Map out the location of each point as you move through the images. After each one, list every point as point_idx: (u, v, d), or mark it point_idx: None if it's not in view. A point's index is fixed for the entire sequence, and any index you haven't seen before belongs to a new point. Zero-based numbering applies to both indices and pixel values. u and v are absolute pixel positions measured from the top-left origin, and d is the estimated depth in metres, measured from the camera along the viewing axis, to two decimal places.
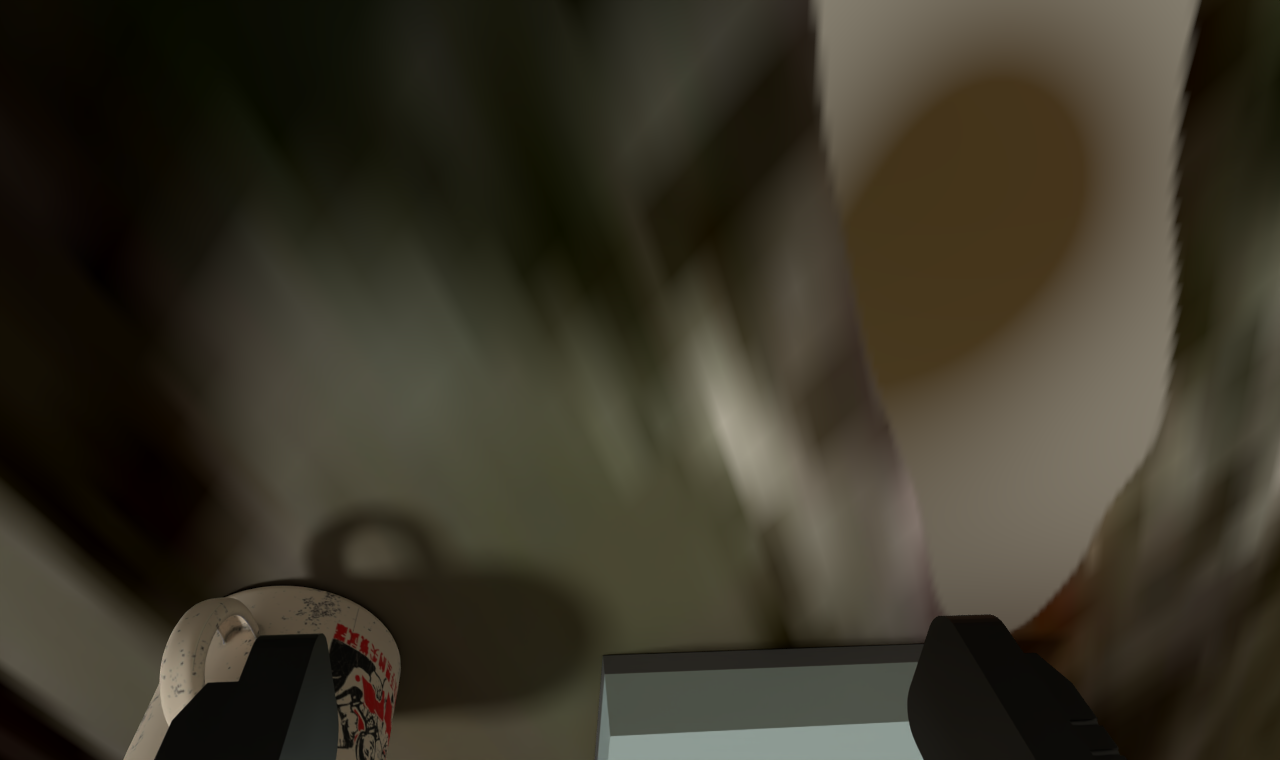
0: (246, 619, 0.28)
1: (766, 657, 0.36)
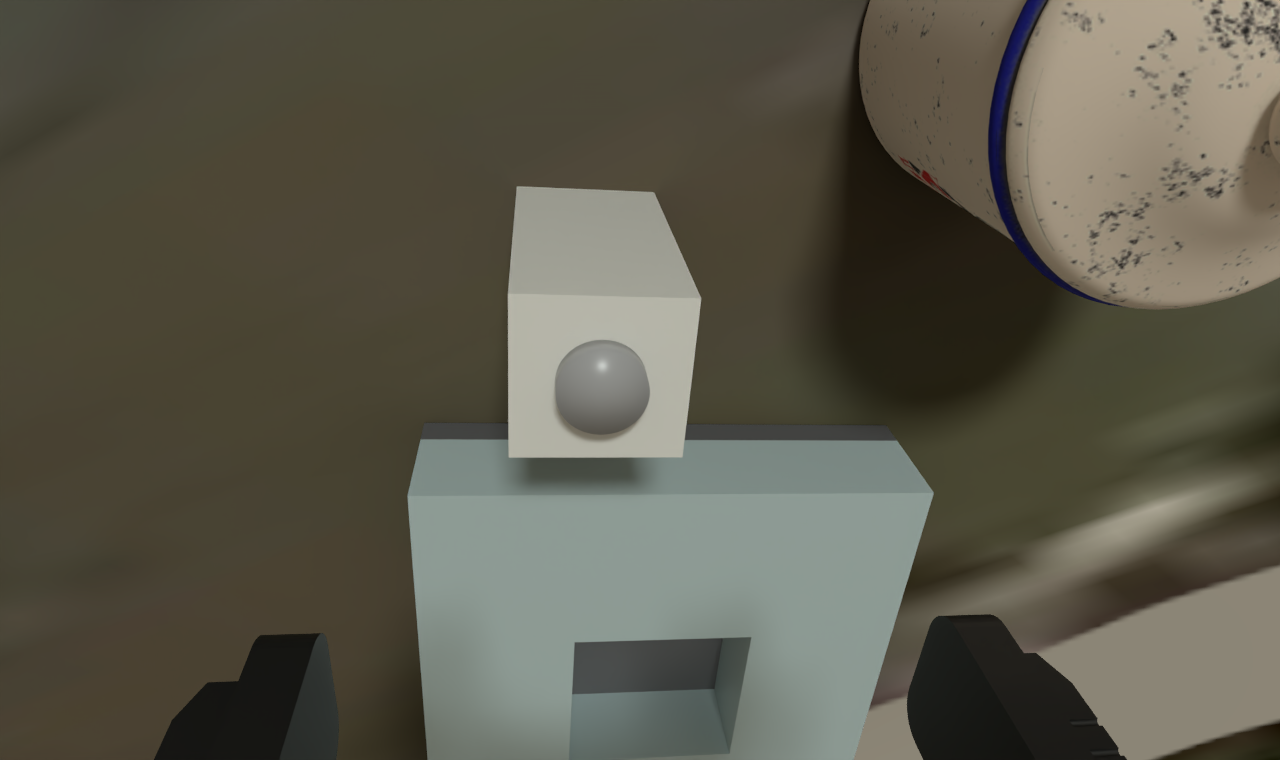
0: None
1: None
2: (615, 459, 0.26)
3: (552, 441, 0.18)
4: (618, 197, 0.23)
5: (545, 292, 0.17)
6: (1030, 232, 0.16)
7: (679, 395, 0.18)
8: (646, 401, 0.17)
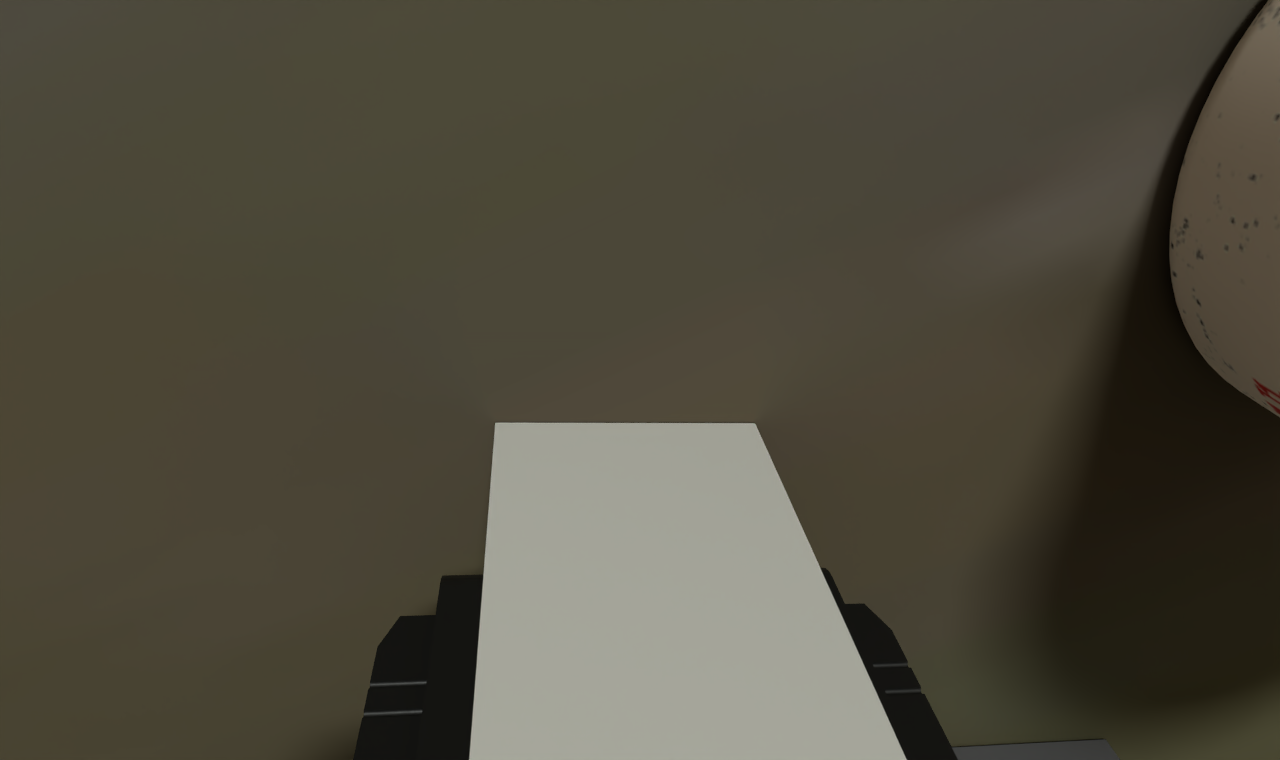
0: None
1: None
2: None
3: None
4: (692, 448, 0.12)
5: None
6: None
7: None
8: None
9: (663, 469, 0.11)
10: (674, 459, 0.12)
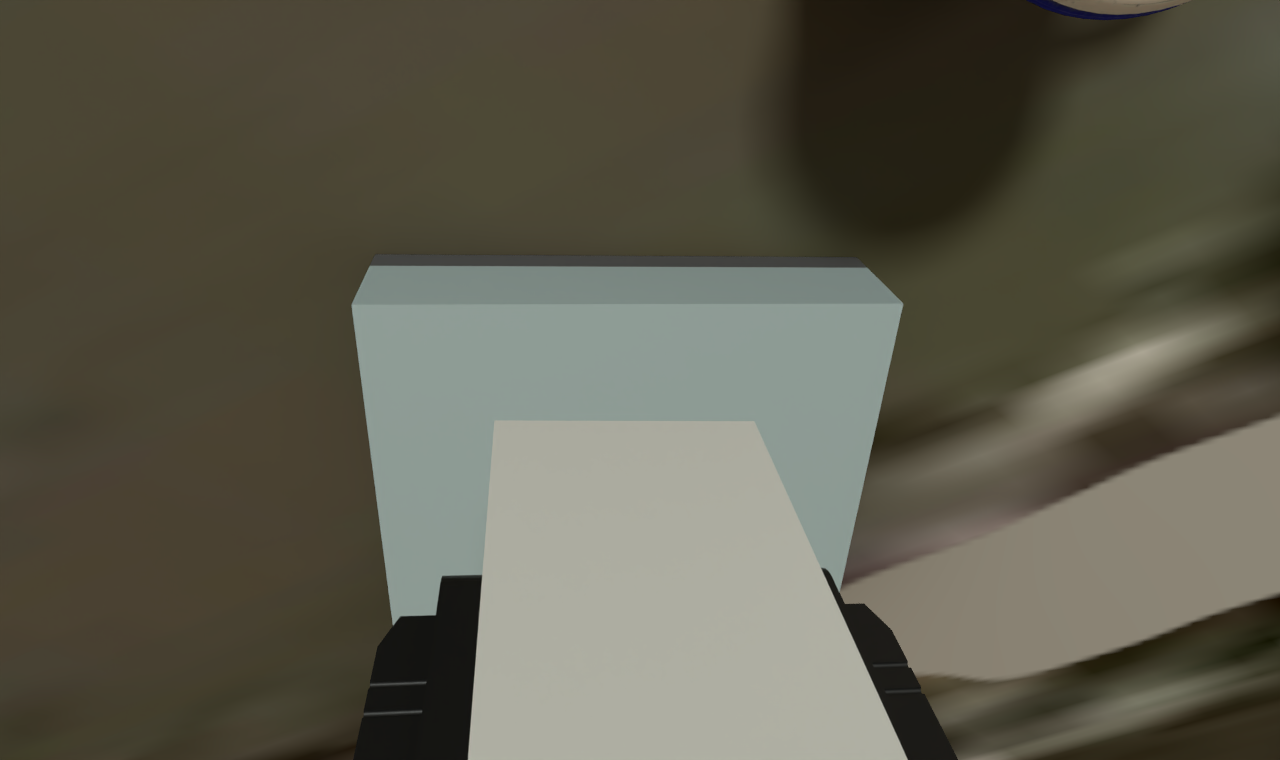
0: None
1: None
2: (572, 280, 0.25)
3: None
4: (691, 446, 0.12)
5: None
6: None
7: None
8: None
9: (662, 467, 0.11)
10: (673, 457, 0.12)
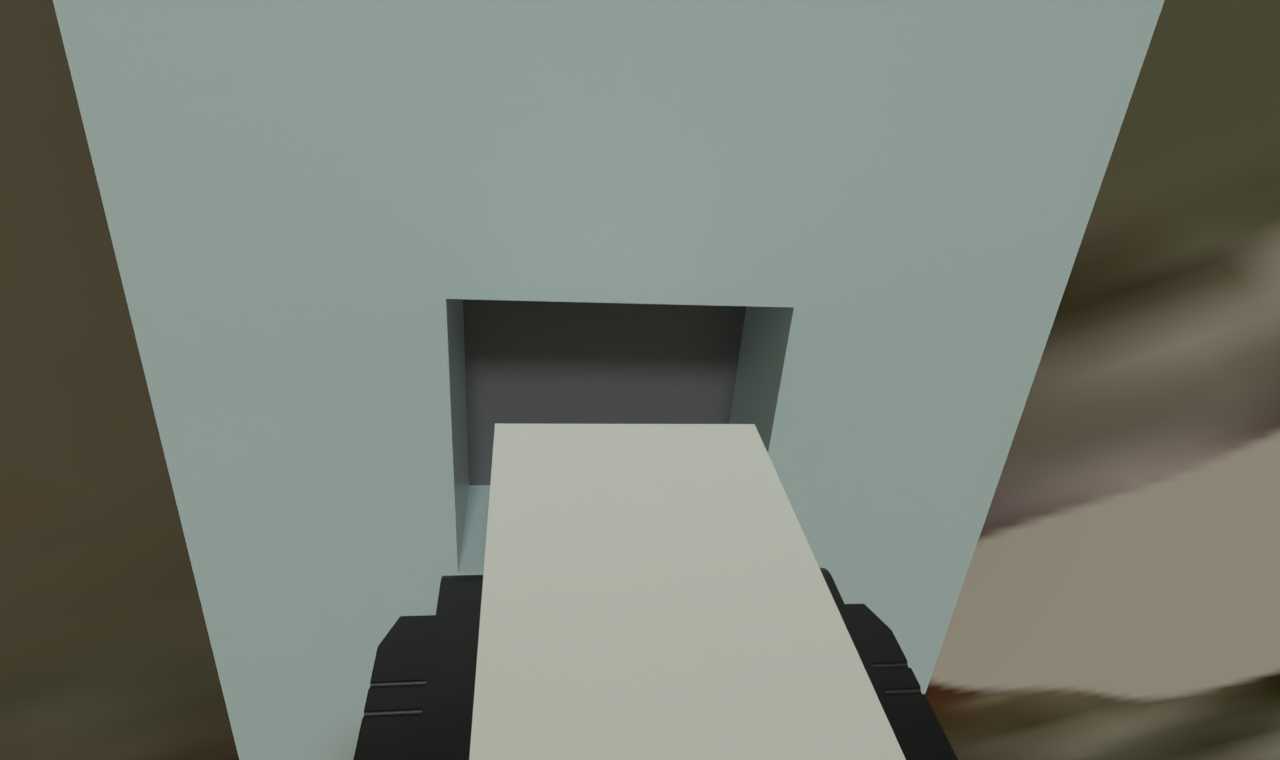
0: None
1: None
2: None
3: None
4: (692, 448, 0.12)
5: None
6: None
7: None
8: None
9: (663, 470, 0.11)
10: (674, 460, 0.12)
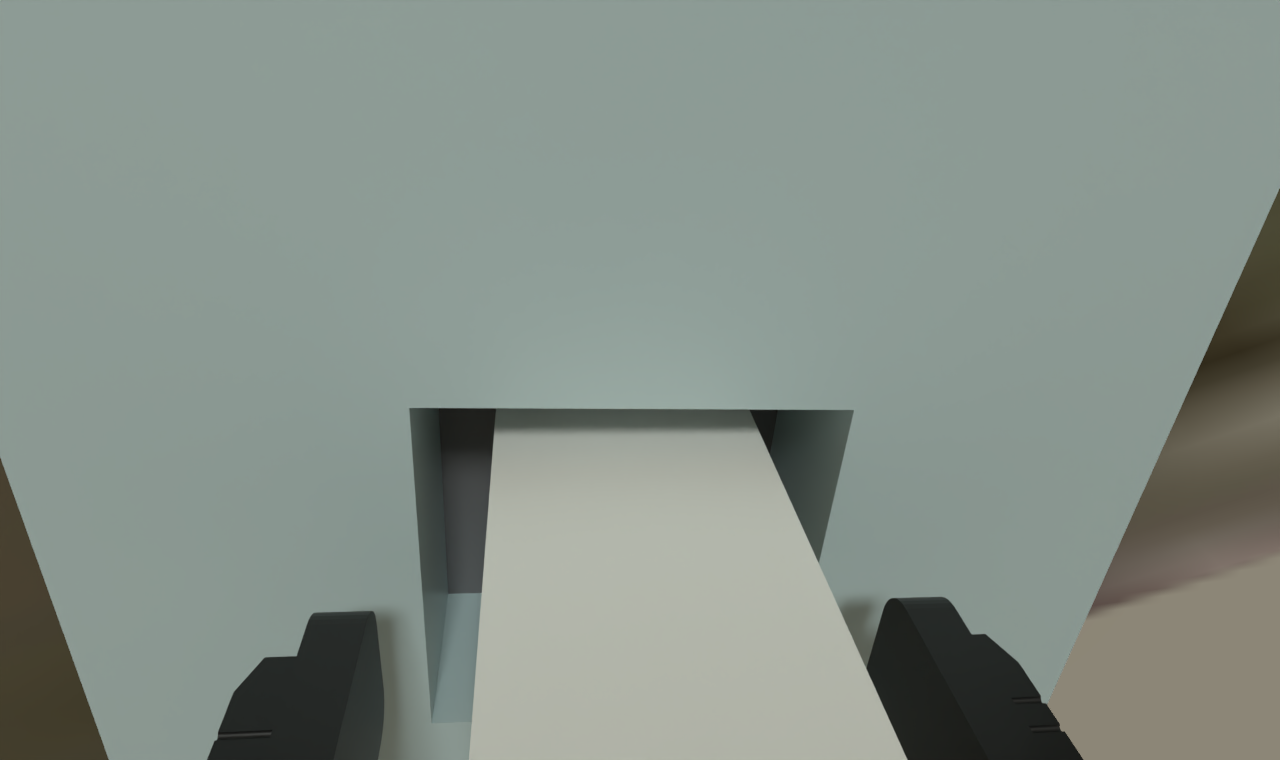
0: None
1: None
2: None
3: None
4: None
5: None
6: None
7: None
8: None
9: None
10: None
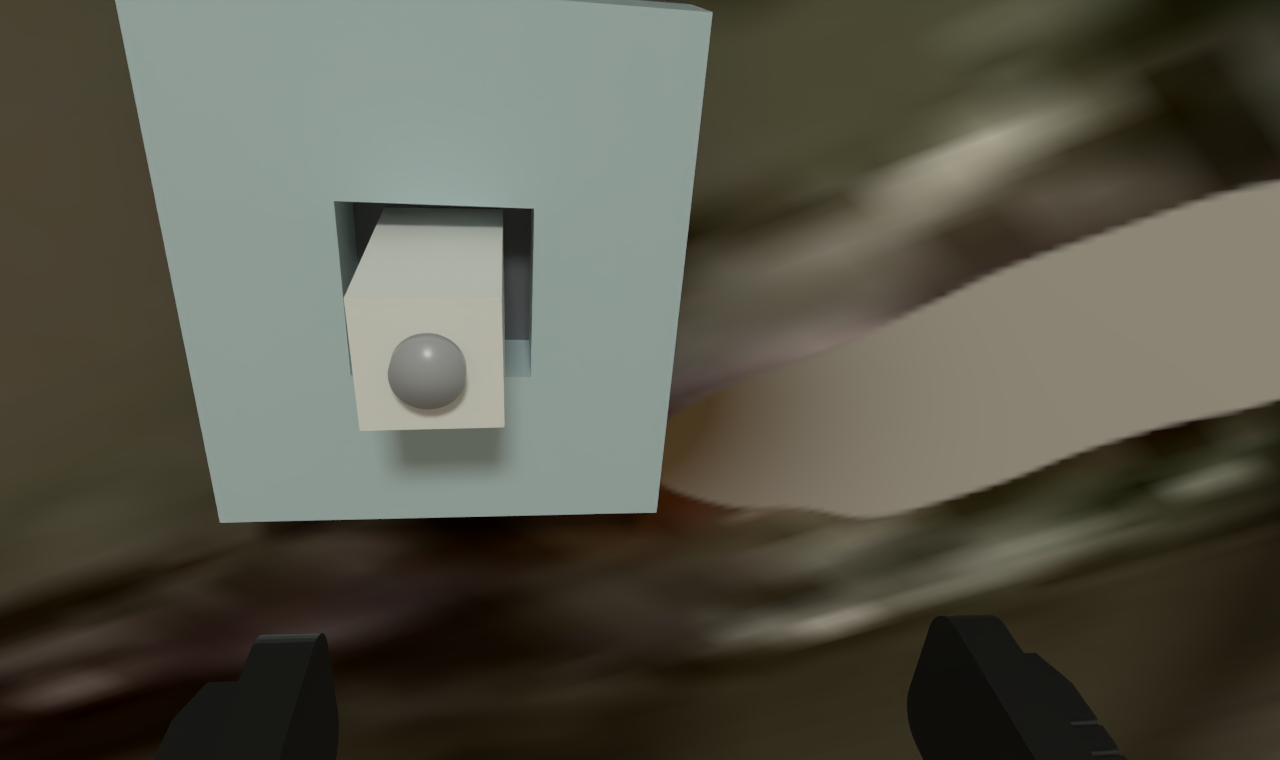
0: None
1: None
2: None
3: (394, 416, 0.23)
4: (469, 215, 0.28)
5: (374, 296, 0.21)
6: None
7: (495, 376, 0.23)
8: (463, 381, 0.22)
9: (453, 219, 0.27)
10: (459, 217, 0.27)
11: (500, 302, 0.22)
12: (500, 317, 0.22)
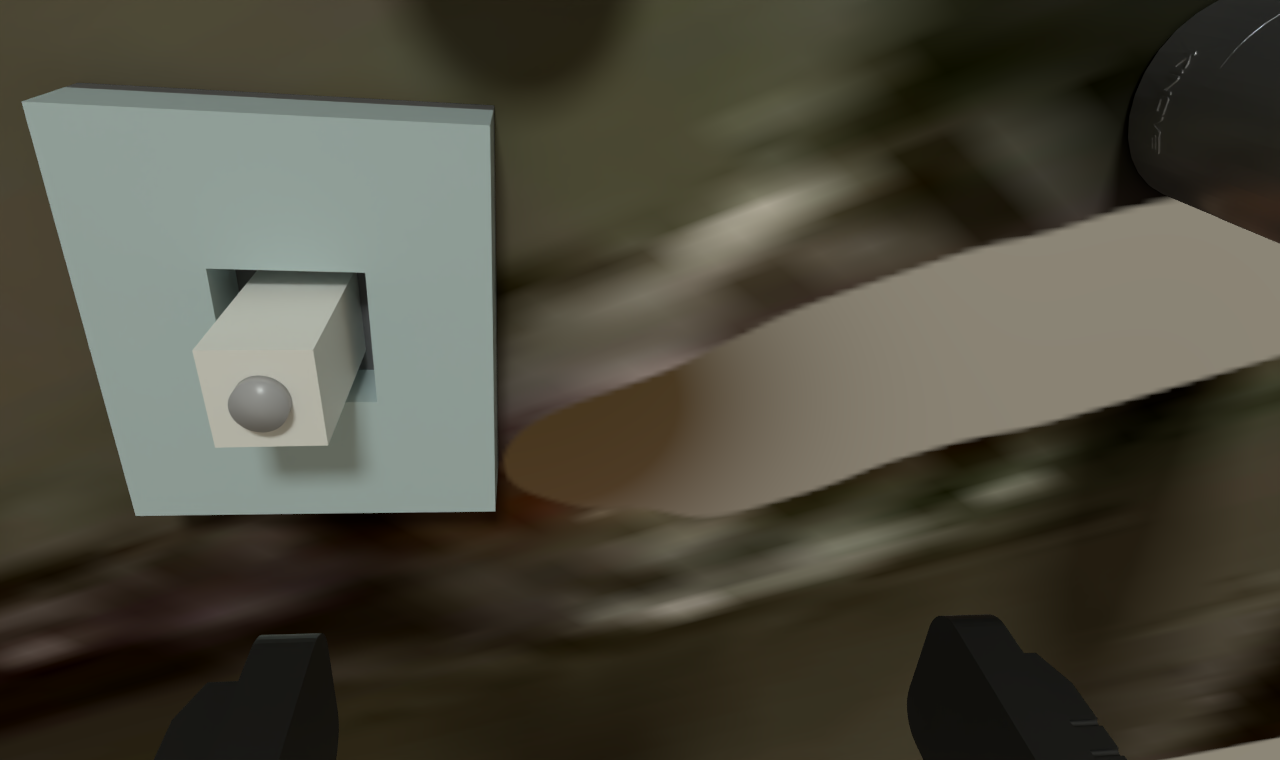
0: None
1: None
2: (227, 101, 0.31)
3: (241, 437, 0.30)
4: (326, 273, 0.35)
5: (216, 348, 0.28)
6: None
7: (315, 407, 0.30)
8: (286, 411, 0.29)
9: (310, 278, 0.34)
10: (316, 275, 0.35)
11: (312, 352, 0.29)
12: (314, 363, 0.29)
